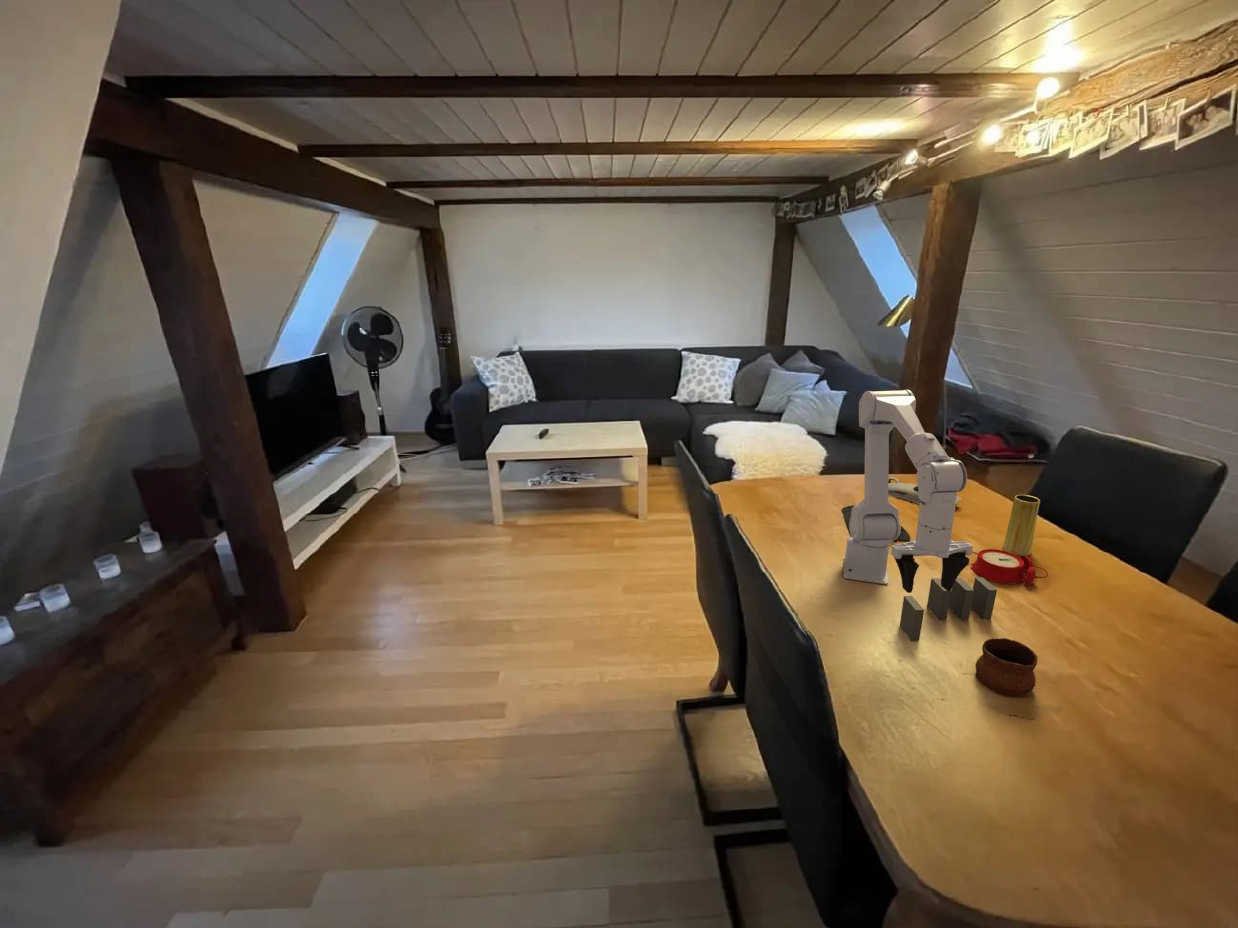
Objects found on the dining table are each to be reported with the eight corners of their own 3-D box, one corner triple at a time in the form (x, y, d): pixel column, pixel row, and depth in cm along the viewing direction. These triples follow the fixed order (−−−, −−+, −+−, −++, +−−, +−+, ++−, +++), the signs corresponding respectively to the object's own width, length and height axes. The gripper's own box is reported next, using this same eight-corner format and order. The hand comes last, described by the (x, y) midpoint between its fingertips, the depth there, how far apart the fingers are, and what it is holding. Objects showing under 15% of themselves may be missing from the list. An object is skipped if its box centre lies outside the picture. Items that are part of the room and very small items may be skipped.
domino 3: (982, 619, 118) (989, 589, 116) (969, 606, 123) (975, 577, 120) (990, 619, 118) (997, 589, 116) (976, 606, 123) (982, 577, 120)
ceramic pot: (1074, 735, 89) (1083, 697, 87) (944, 699, 97) (949, 664, 95) (1057, 668, 104) (1065, 635, 102) (945, 642, 112) (950, 611, 110)
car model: (887, 484, 192) (889, 470, 190) (965, 505, 174) (968, 489, 172) (870, 493, 185) (872, 478, 183) (950, 515, 167) (952, 499, 165)
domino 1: (938, 620, 118) (943, 590, 116) (926, 606, 123) (931, 578, 121) (946, 620, 118) (951, 590, 116) (934, 606, 123) (939, 577, 121)
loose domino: (910, 640, 112) (915, 609, 110) (899, 625, 117) (904, 595, 115) (919, 640, 112) (924, 609, 110) (907, 625, 117) (912, 595, 114)
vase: (1004, 554, 143) (1015, 501, 139) (999, 543, 149) (1010, 492, 144) (1033, 557, 141) (1045, 504, 137) (1027, 547, 147) (1038, 495, 142)
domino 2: (960, 620, 118) (966, 590, 116) (948, 606, 123) (953, 577, 120) (968, 619, 118) (974, 590, 116) (955, 606, 123) (960, 577, 120)
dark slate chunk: (892, 511, 171) (894, 497, 169) (912, 545, 150) (915, 528, 149) (838, 509, 174) (839, 494, 172) (850, 541, 154) (852, 525, 152)
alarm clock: (967, 545, 141) (1042, 543, 134) (969, 568, 143) (1043, 567, 135) (970, 564, 132) (1050, 563, 125) (973, 588, 134) (1052, 589, 126)
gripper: (908, 534, 102) (900, 601, 106) (987, 530, 103) (976, 597, 107) (888, 519, 109) (881, 583, 113) (962, 515, 110) (953, 579, 114)
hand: (926, 589), depth 110 cm, fingers open, 7 cm apart
